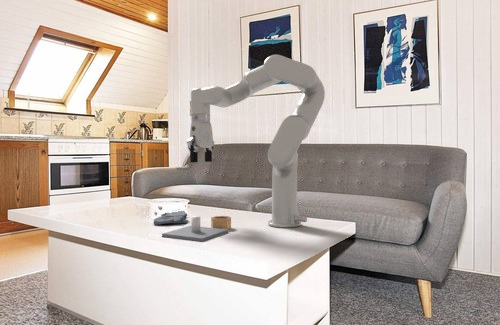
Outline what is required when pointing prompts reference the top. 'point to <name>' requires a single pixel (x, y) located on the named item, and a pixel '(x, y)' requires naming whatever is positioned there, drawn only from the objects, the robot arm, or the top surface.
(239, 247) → the top surface
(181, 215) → the fossil
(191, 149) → the robot arm
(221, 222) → the ring
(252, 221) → the top surface
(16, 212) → the top surface
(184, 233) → the grey square base plate
